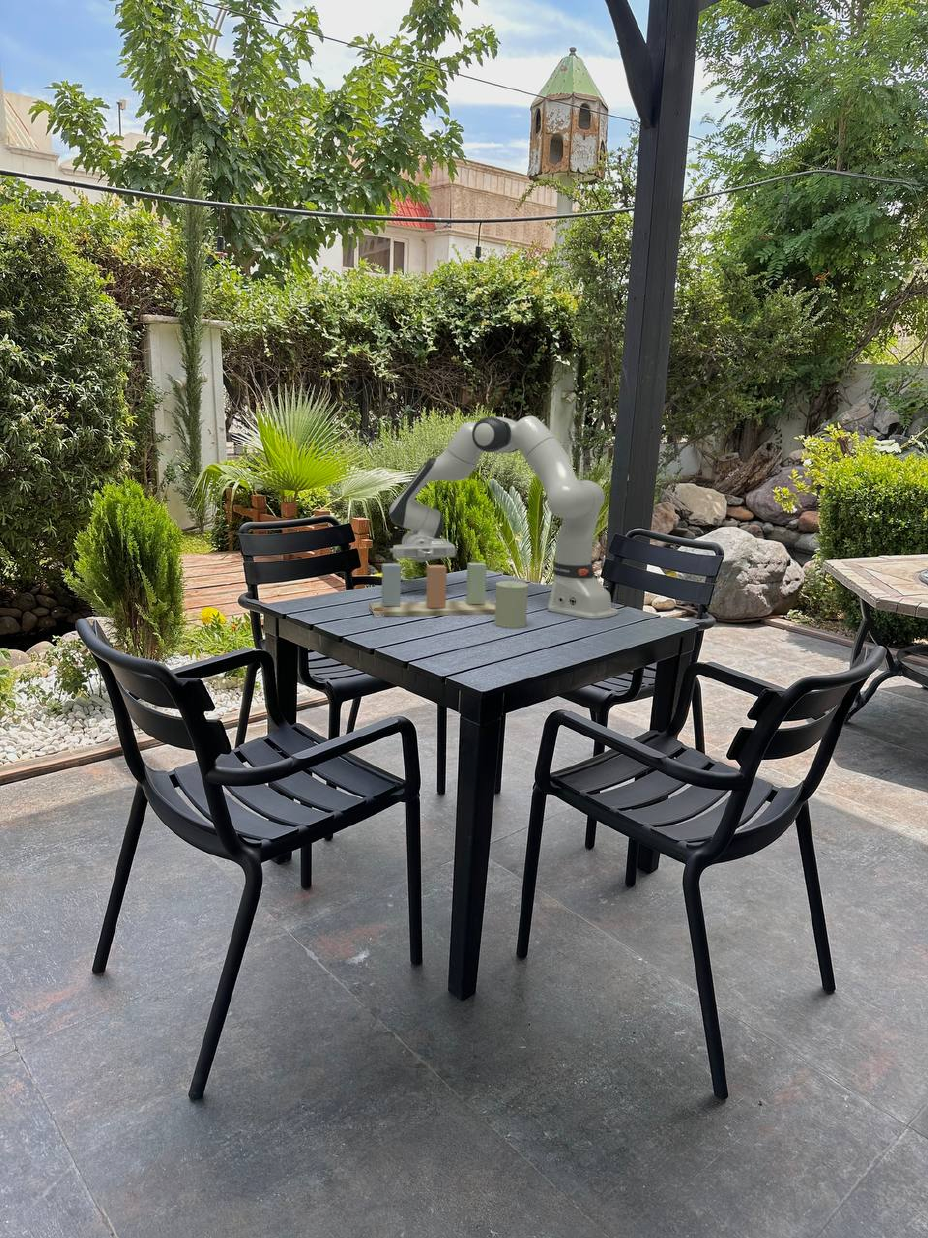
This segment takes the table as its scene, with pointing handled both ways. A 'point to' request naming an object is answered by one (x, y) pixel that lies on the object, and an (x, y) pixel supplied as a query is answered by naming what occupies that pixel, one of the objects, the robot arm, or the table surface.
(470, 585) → the sage key
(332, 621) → the table surface
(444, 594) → the terracotta key
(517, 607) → the can
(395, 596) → the slate key
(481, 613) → the wooden board
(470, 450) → the robot arm
